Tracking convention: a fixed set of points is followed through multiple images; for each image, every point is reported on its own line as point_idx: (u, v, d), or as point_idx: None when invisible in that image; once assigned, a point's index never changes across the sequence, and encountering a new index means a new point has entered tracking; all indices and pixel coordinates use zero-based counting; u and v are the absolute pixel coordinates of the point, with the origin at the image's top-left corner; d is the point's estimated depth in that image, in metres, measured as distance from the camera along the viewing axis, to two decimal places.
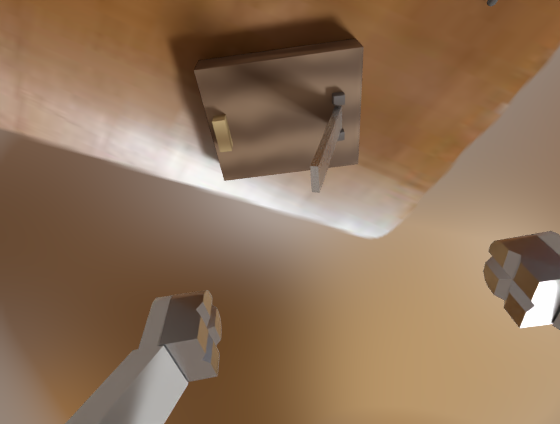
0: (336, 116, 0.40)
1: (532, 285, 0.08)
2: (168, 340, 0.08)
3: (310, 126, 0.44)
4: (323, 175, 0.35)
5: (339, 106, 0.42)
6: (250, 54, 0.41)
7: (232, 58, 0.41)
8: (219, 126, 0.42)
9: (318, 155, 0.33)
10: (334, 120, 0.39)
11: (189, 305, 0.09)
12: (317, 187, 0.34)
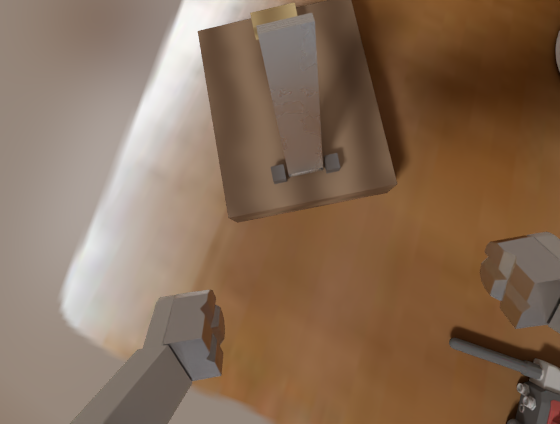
0: (321, 146, 0.28)
1: (527, 286, 0.08)
2: (172, 339, 0.08)
3: None
4: (275, 65, 0.20)
5: None
6: None
7: None
8: (288, 11, 0.32)
9: None
10: (320, 137, 0.27)
11: (193, 304, 0.09)
12: (268, 29, 0.18)
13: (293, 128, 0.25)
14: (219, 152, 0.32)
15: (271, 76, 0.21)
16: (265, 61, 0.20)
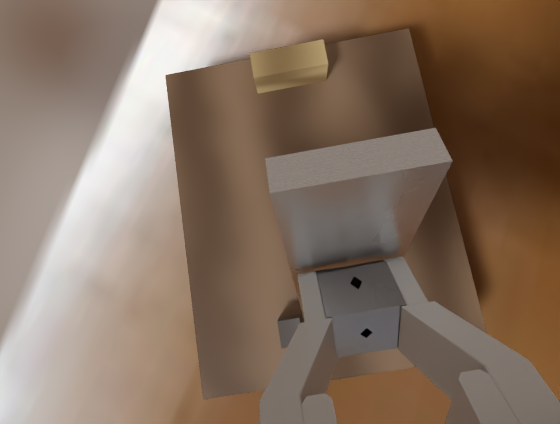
0: None
1: None
2: (334, 313, 0.08)
3: None
4: (311, 239, 0.08)
5: None
6: None
7: None
8: (313, 53, 0.19)
9: None
10: None
11: (340, 280, 0.08)
12: (303, 178, 0.06)
13: None
14: (192, 280, 0.19)
15: (297, 255, 0.08)
16: (285, 236, 0.07)
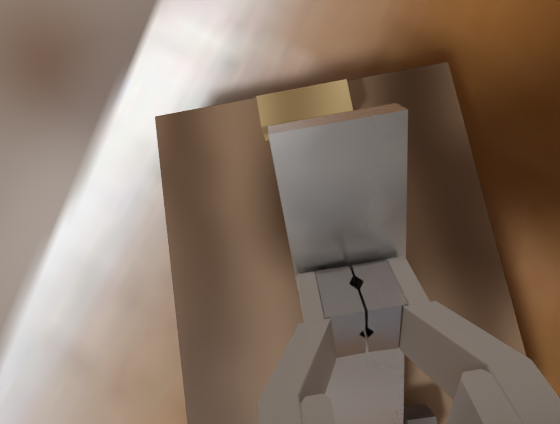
0: None
1: None
2: (333, 313, 0.08)
3: None
4: (308, 211, 0.09)
5: None
6: None
7: None
8: (334, 96, 0.16)
9: None
10: None
11: (339, 280, 0.08)
12: (294, 127, 0.08)
13: None
14: (185, 373, 0.16)
15: (298, 237, 0.09)
16: (284, 201, 0.08)
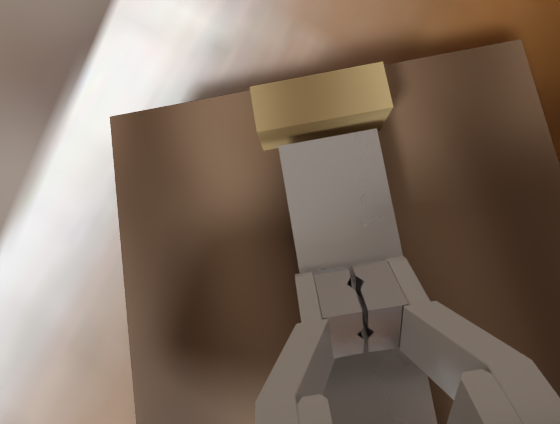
0: None
1: (367, 312, 0.08)
2: (331, 313, 0.08)
3: None
4: (309, 208, 0.10)
5: None
6: None
7: None
8: (365, 87, 0.10)
9: None
10: None
11: (337, 280, 0.08)
12: (297, 144, 0.11)
13: (358, 397, 0.10)
14: None
15: (301, 233, 0.10)
16: (290, 198, 0.10)
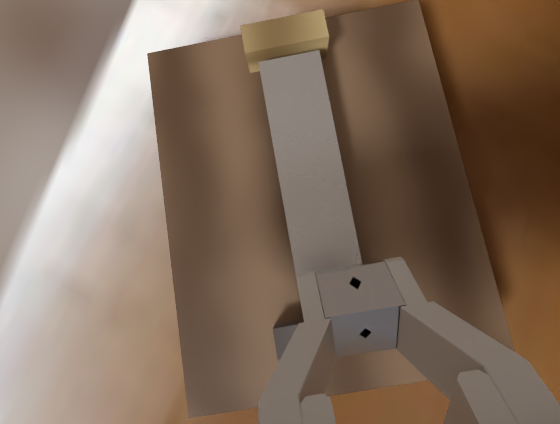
0: (361, 261, 0.16)
1: None
2: (334, 313, 0.08)
3: None
4: (277, 98, 0.17)
5: None
6: None
7: None
8: (311, 24, 0.17)
9: None
10: (356, 239, 0.16)
11: (339, 280, 0.08)
12: None
13: (307, 207, 0.16)
14: (176, 282, 0.17)
15: (272, 113, 0.17)
16: (265, 93, 0.17)
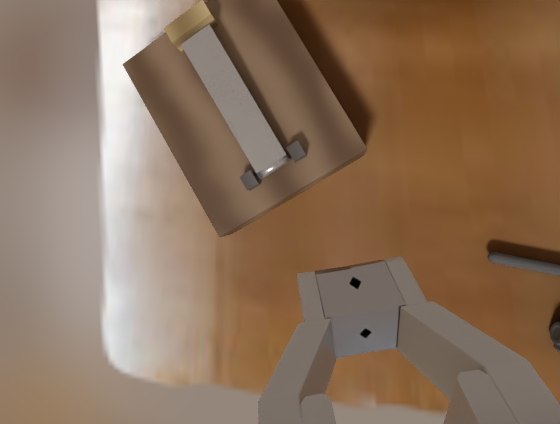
0: (270, 127, 0.30)
1: None
2: (334, 313, 0.08)
3: None
4: (198, 60, 0.30)
5: (286, 154, 0.30)
6: None
7: None
8: (199, 11, 0.30)
9: (221, 44, 0.30)
10: (264, 117, 0.30)
11: (339, 280, 0.08)
12: None
13: (234, 111, 0.30)
14: (188, 178, 0.32)
15: (198, 69, 0.30)
16: (191, 60, 0.30)
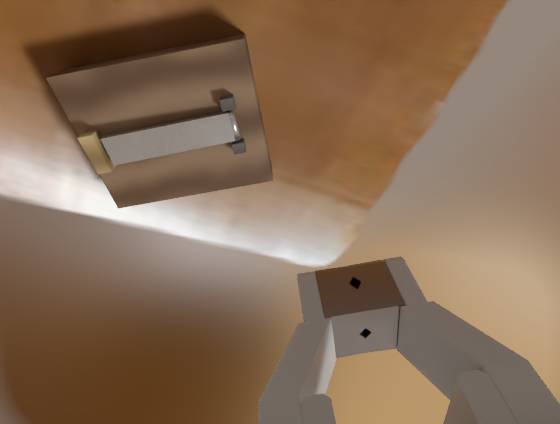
0: (201, 118, 0.35)
1: None
2: (334, 313, 0.08)
3: None
4: (130, 156, 0.36)
5: (227, 112, 0.35)
6: (122, 58, 0.35)
7: (100, 63, 0.35)
8: (87, 143, 0.35)
9: (119, 133, 0.35)
10: (191, 119, 0.35)
11: (339, 280, 0.08)
12: (111, 159, 0.36)
13: (180, 142, 0.36)
14: (221, 188, 0.41)
15: (138, 158, 0.36)
16: (129, 161, 0.36)
